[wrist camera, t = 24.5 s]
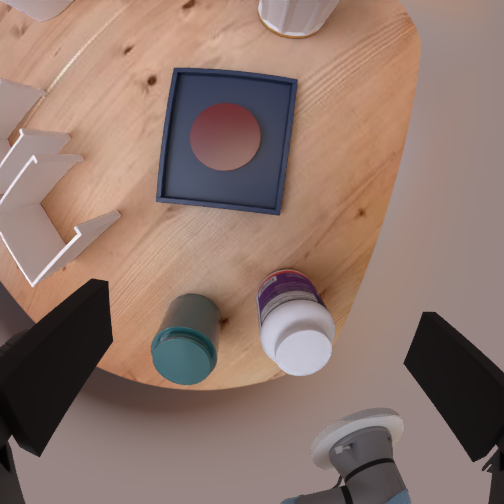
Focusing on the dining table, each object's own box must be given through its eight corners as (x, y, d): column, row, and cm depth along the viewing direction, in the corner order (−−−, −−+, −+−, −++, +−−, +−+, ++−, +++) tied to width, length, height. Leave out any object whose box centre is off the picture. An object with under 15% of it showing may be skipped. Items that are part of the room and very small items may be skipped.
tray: (277, 213, 37) (279, 215, 35) (160, 200, 36) (155, 201, 34) (295, 83, 32) (297, 79, 31) (177, 72, 31) (173, 67, 30)
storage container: (5, 139, 32) (-40, 139, 21) (44, 90, 30) (-1, 77, 20) (74, 260, 38) (32, 287, 27) (121, 216, 36) (81, 234, 26)
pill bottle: (308, 320, 42) (334, 384, 28) (253, 318, 41) (258, 385, 27) (317, 268, 39) (353, 319, 26) (258, 264, 39) (267, 317, 25)
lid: (256, 102, 33) (257, 99, 31) (263, 166, 35) (265, 166, 33) (189, 111, 33) (186, 108, 31) (196, 175, 35) (193, 175, 33)
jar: (219, 345, 42) (214, 392, 32) (167, 338, 42) (149, 382, 32) (223, 297, 40) (218, 339, 30) (167, 290, 40) (145, 329, 29)
